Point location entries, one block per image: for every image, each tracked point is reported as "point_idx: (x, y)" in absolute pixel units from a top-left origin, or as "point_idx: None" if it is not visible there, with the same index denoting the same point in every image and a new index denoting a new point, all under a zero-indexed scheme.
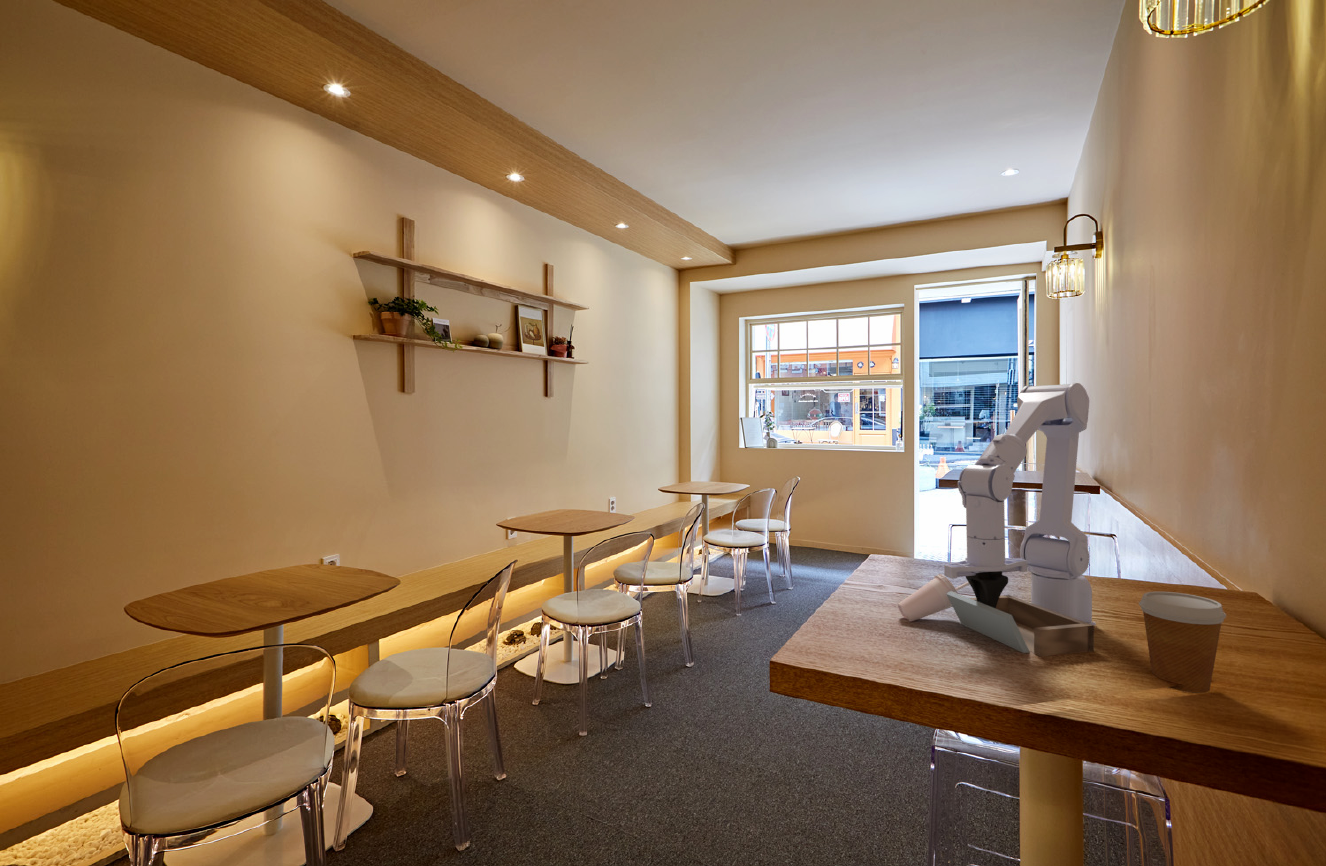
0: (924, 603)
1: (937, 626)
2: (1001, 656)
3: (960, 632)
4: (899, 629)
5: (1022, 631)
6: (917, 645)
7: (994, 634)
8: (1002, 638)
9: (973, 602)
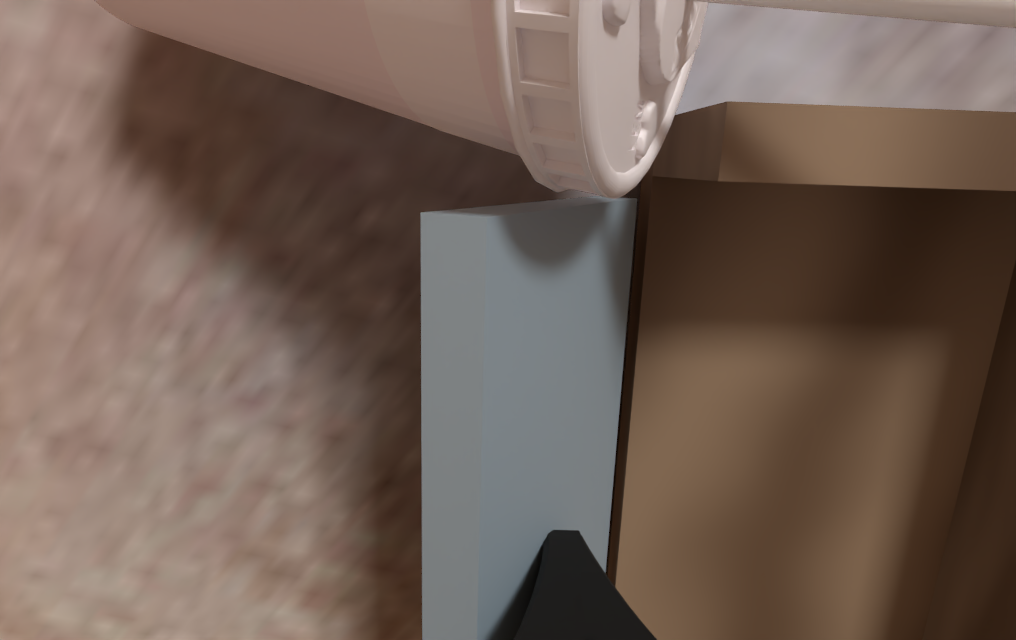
0: (250, 56)
1: None
2: None
3: None
4: (115, 56)
5: (863, 444)
6: (85, 384)
7: None
8: None
9: (448, 631)
